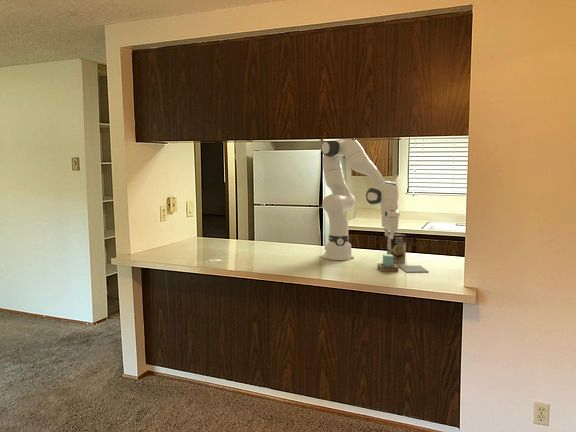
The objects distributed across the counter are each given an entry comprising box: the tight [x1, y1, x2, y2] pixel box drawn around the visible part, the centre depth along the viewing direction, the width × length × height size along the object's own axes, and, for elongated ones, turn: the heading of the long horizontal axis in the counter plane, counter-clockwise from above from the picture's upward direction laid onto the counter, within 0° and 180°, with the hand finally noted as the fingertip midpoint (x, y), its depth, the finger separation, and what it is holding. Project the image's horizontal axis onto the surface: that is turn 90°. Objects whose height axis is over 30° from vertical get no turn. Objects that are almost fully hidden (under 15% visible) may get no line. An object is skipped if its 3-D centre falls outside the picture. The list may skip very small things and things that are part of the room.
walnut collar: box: [377, 262, 399, 273], centre depth 264 cm, size 9×9×2 cm
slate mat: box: [398, 265, 429, 274], centre depth 265 cm, size 14×12×1 cm
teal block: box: [382, 254, 393, 267], centre depth 264 cm, size 4×4×8 cm
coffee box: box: [386, 233, 407, 264], centre depth 284 cm, size 9×6×16 cm
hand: (389, 237), depth 262 cm, fingers open, 8 cm apart
